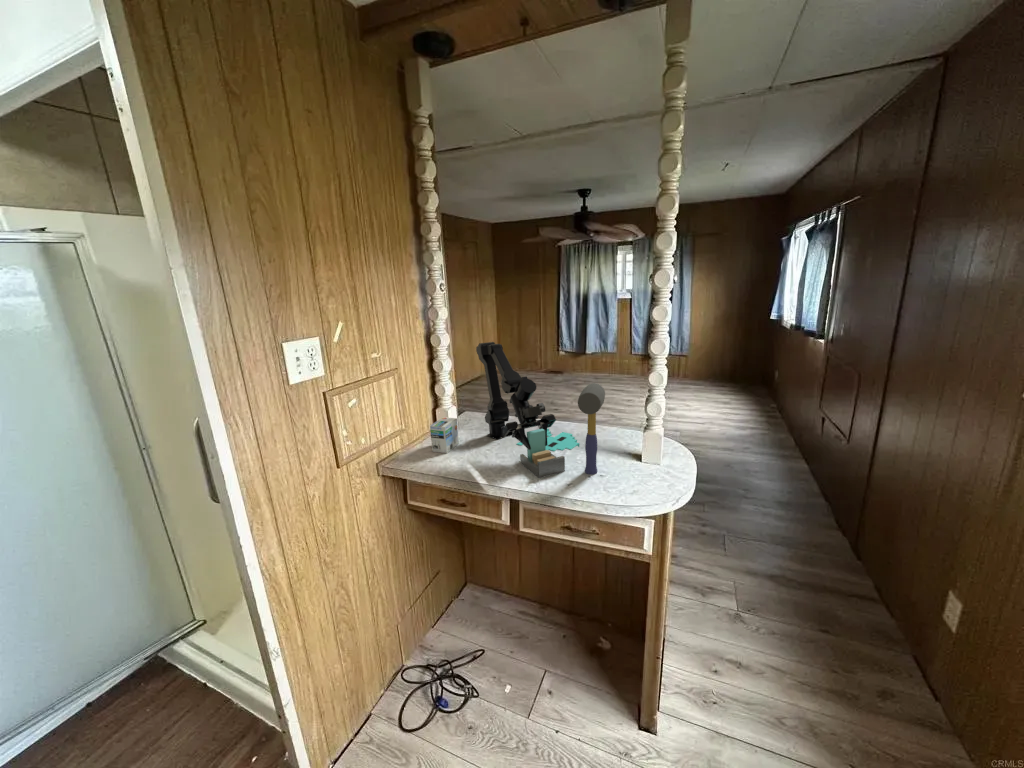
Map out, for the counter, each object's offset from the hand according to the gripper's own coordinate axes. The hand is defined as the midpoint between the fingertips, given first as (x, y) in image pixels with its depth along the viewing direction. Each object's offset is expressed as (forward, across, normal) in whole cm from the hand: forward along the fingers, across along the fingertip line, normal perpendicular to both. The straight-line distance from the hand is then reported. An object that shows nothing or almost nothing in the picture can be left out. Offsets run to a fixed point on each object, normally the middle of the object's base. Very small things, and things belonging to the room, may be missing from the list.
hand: (538, 447), depth 132 cm
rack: (+7, 0, +4) cm, 8 cm away
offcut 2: (+8, 0, +1) cm, 8 cm away
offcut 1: (+6, 0, +3) cm, 6 cm away
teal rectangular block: (+3, 0, +5) cm, 6 cm away
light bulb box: (-18, -22, +30) cm, 42 cm away
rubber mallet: (+15, +12, -4) cm, 19 cm away
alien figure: (-4, +14, +16) cm, 22 cm away
